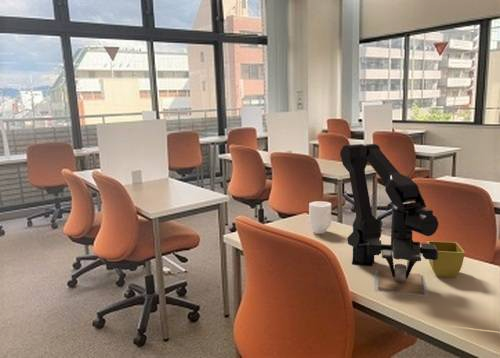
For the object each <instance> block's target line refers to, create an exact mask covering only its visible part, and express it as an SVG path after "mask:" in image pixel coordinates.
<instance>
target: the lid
mask: <svg viewBox="0 0 500 358" xmlns="http://www.w3.org/2000/svg"><path fill="white" fill-rule="evenodd" d="M406 267H407V264H404V263H403V264H402V263H396V264H394V277H393V276H392V273H391V270H381V269H380V270H377V271H378V290H386V291H396V292H405V293H415V294H424V289H423V284H422V280H421V273H413V272H410V274H409V276H408V278H406Z"/></svg>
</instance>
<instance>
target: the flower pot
mask: <svg viewBox="0 0 500 358" xmlns="http://www.w3.org/2000/svg"><path fill="white" fill-rule="evenodd" d="M426 244H434V245H435V246H436V248H437V251H438V259H437V260H429V259H428V262H429V265H430V268H431V269H432V271H433V273H434V276H436V277H438V278H439V277H440V278H441V277H442V278H455V277H456V276H457V275H458V274H459V273H460V272H461V270H462V266H463V262H464V259H465V253H466V252H465V250H464V249H463V248H462V247H461V245H459V243H458V242H455V241H439V240H438V241H434V240H433V241H432V240H429V241H428V240H427V243H426Z"/></svg>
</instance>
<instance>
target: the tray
mask: <svg viewBox="0 0 500 358" xmlns="http://www.w3.org/2000/svg"><path fill="white" fill-rule="evenodd" d="M420 275H421V274H420ZM421 280H422V284H423V289H424V294H415V293H405V292H396V291H386V290H378V270H377V271H376V270H375V271H374V292H382V293H389V294H398V295H400V294H401V295H410V296H419V297H429V294H428V289H427V286H426V285H427V284H426V281H425V277H424V275H421Z"/></svg>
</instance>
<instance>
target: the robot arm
mask: <svg viewBox="0 0 500 358" xmlns="http://www.w3.org/2000/svg"><path fill="white" fill-rule="evenodd" d="M380 148H381V147H380V146H379V145H378V144H376V143H366V144H363V143H357V144H345V145H343V146H342V148H341V149H340V156H339V157H340V159H341V163H342V166H343V167H344V168H345V169H346V171H347V172H348V173H349V179H350V185H351V193H352V200H353V205H354V211H355V218H354V221H353V223H352V232H350V234H349V235H348V236H347V240H346V241H347V245H349V246H351V247H352V260H351V265H354V266H355V265H356V266H365V267H366V266H367V267H373V264H374V263H375V256H379V255H381V258H382V259H386V261H387V263H388V267H389V269H390V271H391V273H392V276H393V277H394V268H395V264H394V259H395V260H398V261H399V260H405V261H407V262H406V278H408V276H409V274H410V273H411V272H412V269H413V267H414V266H415V264H416V263H417V262H421V261H422V257H423V259H425V260H428V261H429V260H437V259H438V251H437V248H436V246H435V245H434V244H427V243H423V242H422V243H421V242H419V241H414V240H413V234H414V233H413V232H415V233H417V234H420V235H423V236H426V237H431V236H433V235H434V234H435V233H436V231H438V228H439V221H438V218H437V216H435V215H434V211H433V210H432V209H430V208H429V209H427V204H426V202H425V199H424V198H423V195H422V194H421V191H420V189H419V186H418V185H417V183H416V182H415V181H414V180H412V179H411V178H410V177H409V176H406V175H405V174H402V173H400V171H398V170H397V168H396V167H395V166H394V165H393V164H392V163H391V161H390V160H389V159H388V157H386V155H385V154H384V152H383V151H382V150H381V149H380ZM368 164H369V165H370V166H371V168H372V169H373V170H374V171H375V172H376V174H377V175H378V176H379V177H380V179H381V180H382V181H383V183H384V185H385V186H384V187H385V188H384V189H385V190H384V191H385V193H386V194H387V196H388V199H389V200H390V201H391V202H389V203H388V204H387V205H386V207H387V208H390V209H392V210H391V230H390V231H391V234H390V244H384V243H383V244H382V240H380V239H381V237H382V232H383V230H382V228H381V219H379V218H376V217H375V216H374V215H373V213H372V205H371V202H370V201H371V200H370V195H369V194H370V193H369V188H368V183H367V176H366V167H367V165H368ZM421 256H422V257H421Z"/></svg>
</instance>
